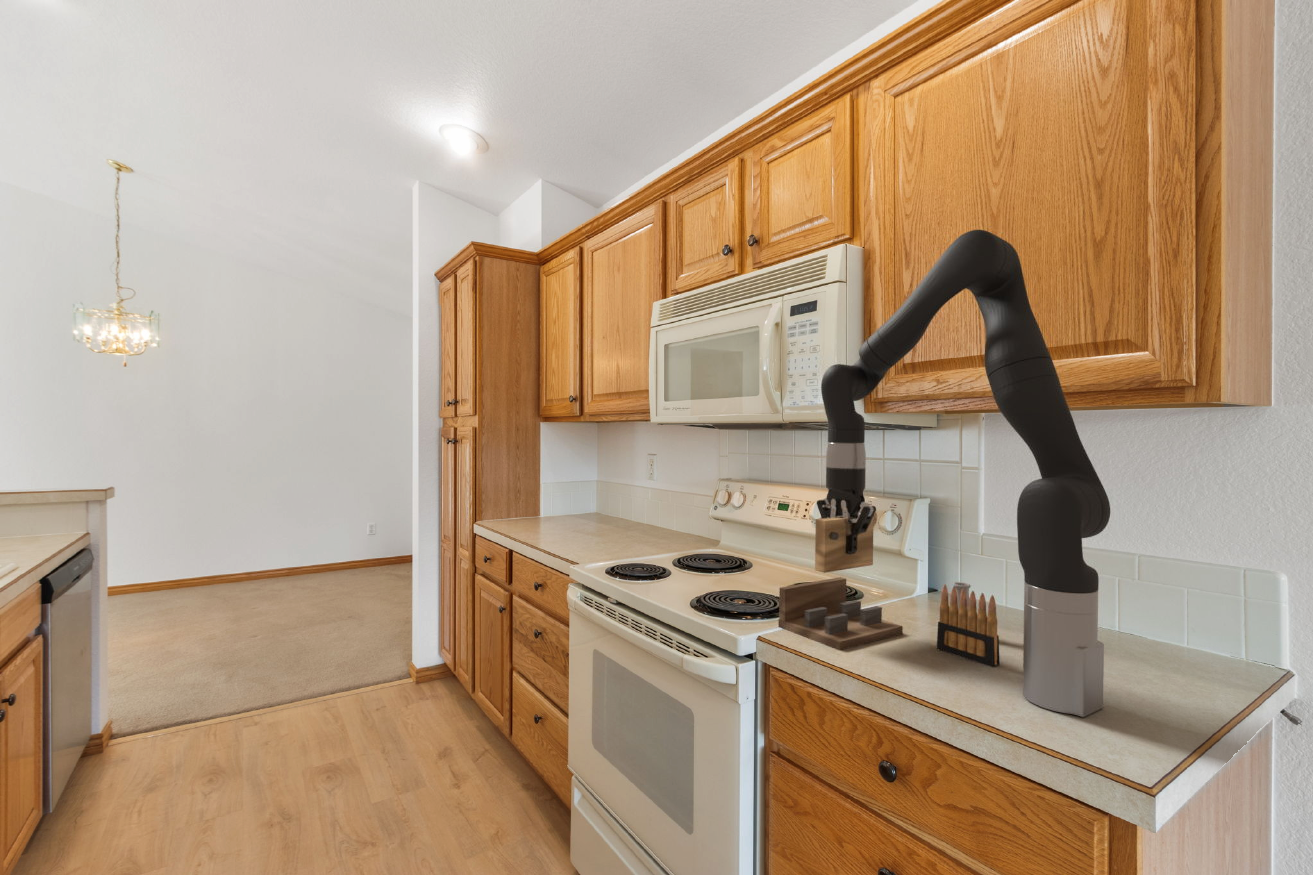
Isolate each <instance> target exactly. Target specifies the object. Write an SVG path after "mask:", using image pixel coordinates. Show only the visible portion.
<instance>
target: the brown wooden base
mask: <svg viewBox="0 0 1313 875" xmlns="http://www.w3.org/2000/svg"><path fill="white" fill-rule="evenodd" d="M778 594H779V599H778V600H779V602H778V603H779V607H778V608H779V610H778V612H779V613H778V614H779V616H778V617H779V618H778V625H777V626H778V628H781V629H784V630H786V629H787V631H790V632H792V633H794V634H797V635H800V636H802V637H805V638H807V639H810V640H811V641H814V642H818V643H820V644H823V645H825V646H828V647H831V648H833V649H835V650H838V651H841V650H845V649H849V648H852V647H853V648H854V647H856V646H859V645H864V644H867V643H873V642H876V641H880V640H884V639H887V638H891V637H895V636H899V635H903V629H904V628H903V625H900V624H898V623H895V622H894V623H893V622H889V621H887V620H884V619H882V617H883V616H882V615H883V613H882V612H883V607H882V606H878V605H875V606H871V607H866V608H862V601H861V600H858V599H855V600H851V601H847V578H845V577H842V576H840V577H834V578H833V577H832V578H829V579H822V580H816V581H811V582H804V583H798V584H792V585H786V586H782V587H781V586H780V587H779V593H778Z"/></svg>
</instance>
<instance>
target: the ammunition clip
mask: <svg viewBox="0 0 1313 875" xmlns="http://www.w3.org/2000/svg"><path fill="white" fill-rule="evenodd" d="M995 599H996V598H995V597H994V595H993V594H992V595H991V596H990V598H989V601H988V610H987V601H986V597H985V595H984V593H983V592H981V594H980V596H979V600H978V609H977V597H976V593H975V591H974V590H972V591H971V592H970V593H969V610H968V611H967V597H966V592H965V590H964V589H962V591H961V595H960V604H959V610H958V603H957V592H956V588H955V587H954V586H953V587H952V589H951V593H950V598H949V591H948V588H947V585H946V584H943V586H942V590H941V595H940V606H939V621H938V622H937V636H936V650H938V649H939V651H941V652H944V653H948V654H951V655H954V656H957V657H960V658H963V659H967V660H968V661H969V660H970V661H972V662H975V663H979V664H981V665H985V666H988V667H991V668H994V667H998V666H1000V664H1001V662H1000V638H999V634H998V617H997V603H996V600H995Z"/></svg>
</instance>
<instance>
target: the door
mask: <svg viewBox="0 0 1313 875" xmlns="http://www.w3.org/2000/svg"><path fill="white" fill-rule="evenodd" d="M874 516H875V515H874ZM874 516H873V518H872V520H871V522H870V524H869V527H868V529H867V531H866V532H864V533H860V534H858V537H857V551H856V552H855V554H846V535H847V534H846V524H845V523H844V519H843V517H833V518H823V519H822V518H815V537H814V538H815V539H814V540H815V542H814V545H815V546H814V550H815V552H814V571H816V572H819V573H823V574H826V573H832V572H836V571H837V572H839V571H845V570H849V569H850V570H851V569H856V568H862V567H863V568H864V567H869V566H873V565H874V520H875V519H874V518H875V517H874ZM850 519H853V517H850ZM852 528H853V527H852Z"/></svg>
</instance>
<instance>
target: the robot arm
mask: <svg viewBox="0 0 1313 875" xmlns="http://www.w3.org/2000/svg"><path fill="white" fill-rule="evenodd" d="M966 289H967V290H969V291H970V293H972V295H973V297H974V299H975V300H976V303H977V305H978V308H979V311H980V313H981V317H982V319H983V322H984V326H985V344H984V345H985V346H984V368H985V374H986V378H987V380H988V383H989V386H990V390H991V392H992V396H993V399H994V402H995V403H996V405H997V408H998V410H999V412H1000V413H1001V414H1002V415H1003V417H1004V419H1005V420H1006V422H1008V424H1009V425H1010V426H1011V427H1012V428H1013V430H1014V431H1015V432H1016V433H1017V434H1018V435H1019V437H1020V438H1021V439H1022V440H1023V442H1025V444H1026V445H1027V447H1028V449H1029V450H1030V451H1031V453H1032V455H1033V457H1034V460H1035V461H1036V465H1037V467H1038V470H1039V473H1040V474H1039V475H1040V477H1041V478H1039V479H1035V480H1033V481H1031V482H1028V484H1027V485H1025V486H1024V488H1023V490H1022V492H1020V496H1019V498H1018V502H1017V508H1016V532H1017V552H1018V558H1019V563H1020V565H1021V567H1022V570H1023V575H1024V579H1023V580H1024V581H1023V582H1024V585H1023V587H1024V589H1023V592H1024V593H1023V647H1022V648H1023V649H1022V650H1023V651H1022V656H1023V657H1022V660H1023V661H1022V668H1023V669H1022V695H1023V697H1024V698H1025V699H1026V700H1027V701H1028V702H1030V703H1032V704H1033V705H1036V706H1038V707H1041V708H1044V709H1046V710H1050V711H1054V712H1058V713H1061V714H1062V713H1063V714H1069V715H1074V716H1075V715H1076V716H1078V717H1081V718H1084V717H1087V716H1089V715H1091V714H1093V713H1095V712H1097V711H1099V710H1102V709H1103V708H1104V678H1105V677H1104V676H1105V675H1104V672H1105V671H1104V665H1105V661H1104V660H1105V655H1104V654H1105V644H1104V642H1102V641H1100V640H1098V639H1099V638H1098V635H1099V634H1098V632H1099V630H1098V629H1099V624H1098V623H1099V583H1100V582H1099V574H1098V571H1097V570H1096V569H1095V568H1094V567H1092V566H1090V565H1088V564H1087V563H1086V561H1085V559H1084V554H1083V539H1087V538H1092V537H1095V536H1097V535H1099V534H1101V533H1102V532H1103V531H1104V530H1106V527H1107V526H1108V523H1109V522H1110V517H1111V504H1110V501H1109V500H1110V499H1109V497H1108V495H1107V492H1106V489H1105V488H1104V485H1103V484H1102V481H1101V479H1100V477H1099V475H1098V473H1097V471H1096V469H1095V467H1094V466H1093V463H1092V462H1091V460H1090V457H1089V455H1088V453H1087V451H1086V449H1085V447H1084V445H1083V442H1082V440H1081V438H1080V436H1079V432H1078V430H1077V426H1076V424H1075V422H1074V418H1073V415H1072V412H1071V410H1070V407H1069V405H1068V402H1067V399H1066V397H1065V394H1064V392H1063V388H1062V384H1061V382H1060V378H1059V374H1058V372H1057V370H1056V366H1055V364H1054V361H1053V359H1052V356H1051V354H1050V352H1049V349H1048V346H1047V344H1046V342H1045V339H1044V337H1043V334H1042V331H1041V328H1040V326H1039V324H1038V321H1037V319H1036V317H1035V315H1034V312H1033V310H1032V307H1031V304H1030V301H1029V296H1028V293H1027V288H1026V284H1025V278H1024V274H1023V268H1022V265H1021V260H1020V257H1019V255H1018V252H1017V250H1016V249H1015V247H1014V246H1013V245H1012V244H1011V243H1010V242H1008V241H1007V240H1005V239H1003V238H1002V237H1000V236H998V235H996V234H994V233H992V232H991V231H988V230H985V229H972V230H969V231H966V232H964V233H963V234H961V235H960V236H958V237H957V238H956V239H955V240H954V241H952V243H951V244H950V245H949V246H948V247H947V248H946V250H944V252H943V253H942V254H941V256H940V257H939V258H938V260H937V261H936V262H935V263H934V264H933V266H932V267H931V269H930V270H929V271H928V272H927V274H926V275H925V276H924V277H923V278H922V280H921V281H920V282H919V283H918V285H917V286H916V287H915V288H914V289H913V291H912V293H911V294H910V295H909V296H908V297H907V298H906V300H905V301H904V302H903V303H902V304H901V306H900V307H899V308H898V309H897V310H896V311H895V312H894V313H893V314H892V315H891V316H889V318H888V319H886V321H885V322H884V323H883V324H882V325H881V326H880V327H878V328H877V329H876V330H875V331H874V332H873V333H872V334H871V335H870V336H869V337H868V338H867V339H866V340H865V341H864V342H863V343H862V344H861V346H859V348H858V354H859V355H858V356H859V359H858V360H857V361H856V362H855V363H853V364H851V365H850V364H841V363H837V364H833V365H831V366H829V367H827V369H826V370H825V372H824V373H823V375H822V379H821V383H820V384H821V385H820V392H821V398H822V401H823V406H824V407H823V408H824V410H825V411H824V412H825V416H826V419H827V448H826V454H825V458H826V459H825V460H826V461H825V463H826V464H825V488H827V489H828V492H827V494H826V497H824V499H819V500H816V505H817V508H818V509H817V510H818V511H819V514H820V517H821V518H820V519H823V518H833V517H843V519H844V523H845V524H846V534H847V535H846V554H855V552H856V551H857V537H858V534H860V533H864V532H866V531H867V529H868V527H869V524H870V522H871V520H872V518H873V516H875V515H876V514H875V513H876V511H877V507H876V506H875V505H869V504H868V503H867V502H866V500H865V499H866V498H865V496H864V490H865V489H866V469H867V468H866V461H867V458H866V457H867V456H866V455H867V454H866V447H865V446H866V444H865V431H866V430H865V429H866V424H865V418H864V416H863V415H862V414H860V413H858V412H857V411H856V406H855V402H856V401H857V402H858V401H861V400H862V399H864V398H866V397H868V396H869V395H870V394H871V393H872V392H873V391H874V390H875V389H876V388H877V386H879V384H880V383H881V382H882V381H883V379H884V378H885V376H886V374H887V373H888V371H889V370H890V369H891V368H892V367H894V366H895V365H896V364H897V363H899V362H900V361H901V360H902V359H903V358H904V357H906V356H907V355H908V354H909V353H910V352H911V351H912V350H913V349H914V348H915V347H916V345H917V344H918V343H920V341H921V339H922V338H923V336H924V334H925V332H926V330H927V329H928V327H929V326H930V323H931V322H932V320H933V319H934V317H935V316H936V315H937V313H938V312H939V310H941V309H942V308H943V307H944V305H946V303H948V302H949V301H950V300H952V299H953V298H954V297H956V296H957V295H958V294H960V293H961V292H963V291H964V290H966ZM850 517H853V519H850ZM852 527H853V528H852Z"/></svg>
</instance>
